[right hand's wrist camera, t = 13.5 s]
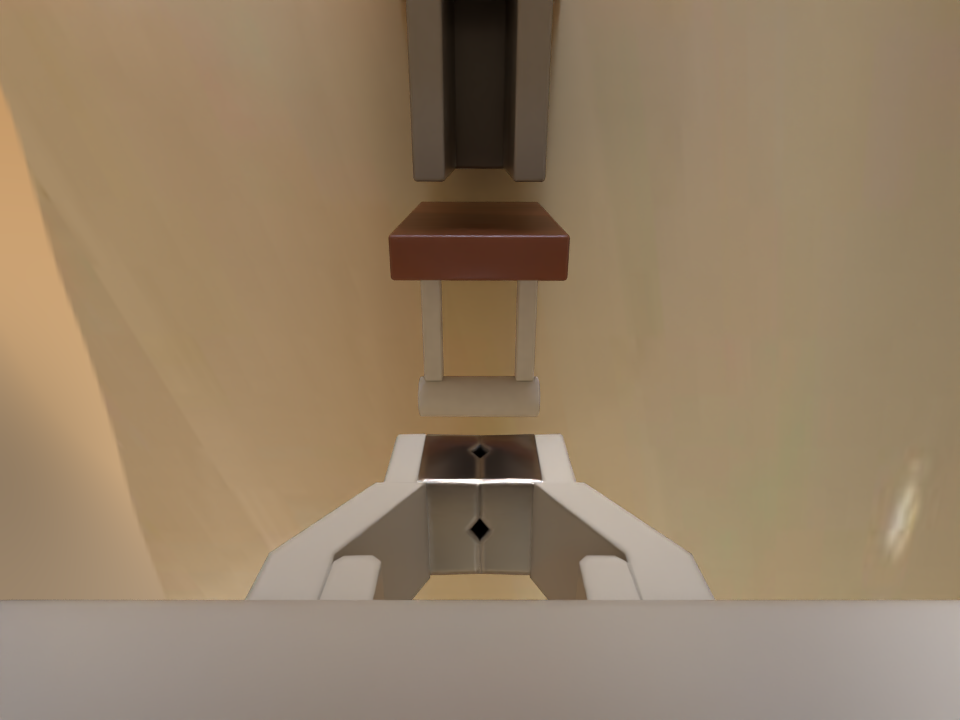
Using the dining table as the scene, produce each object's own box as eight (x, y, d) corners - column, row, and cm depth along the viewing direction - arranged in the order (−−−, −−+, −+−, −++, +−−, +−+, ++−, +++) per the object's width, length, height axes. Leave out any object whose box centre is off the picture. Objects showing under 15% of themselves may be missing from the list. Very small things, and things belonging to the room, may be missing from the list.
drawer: (532, 355, 24) (556, 454, 16) (426, 354, 24) (401, 454, 16) (563, -394, 15) (642, -911, 8) (398, -395, 15) (319, -911, 8)
